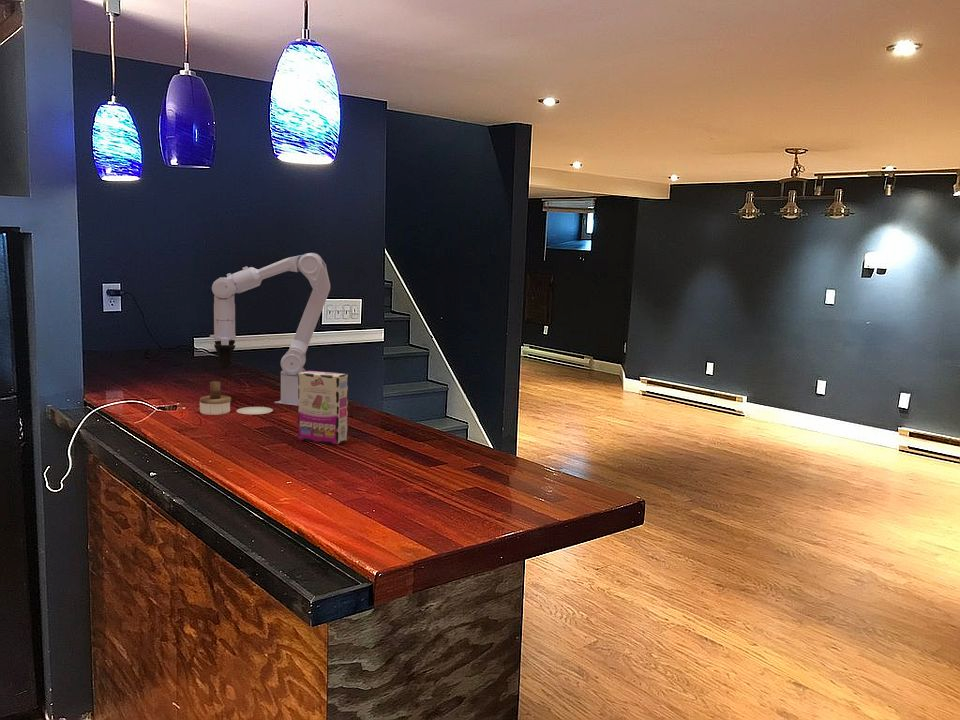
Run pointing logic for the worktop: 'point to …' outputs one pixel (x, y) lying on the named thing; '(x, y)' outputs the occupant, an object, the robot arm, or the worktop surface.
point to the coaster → (254, 410)
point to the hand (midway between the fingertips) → (225, 367)
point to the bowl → (214, 408)
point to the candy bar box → (322, 407)
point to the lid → (215, 395)
